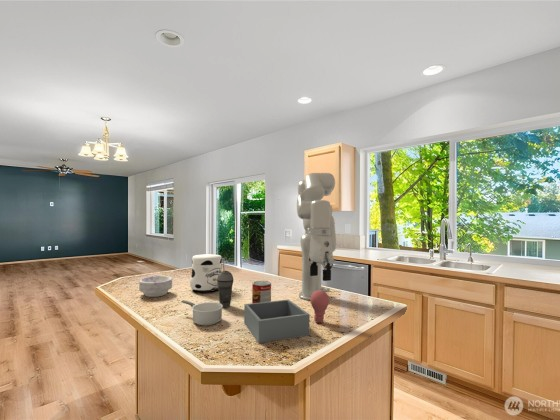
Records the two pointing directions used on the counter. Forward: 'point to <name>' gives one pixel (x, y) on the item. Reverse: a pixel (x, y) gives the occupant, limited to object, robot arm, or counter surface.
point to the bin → (276, 320)
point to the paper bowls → (155, 285)
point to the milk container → (205, 272)
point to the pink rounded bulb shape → (319, 304)
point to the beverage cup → (225, 287)
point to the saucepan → (206, 312)
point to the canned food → (261, 291)
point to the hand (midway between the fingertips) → (320, 278)
